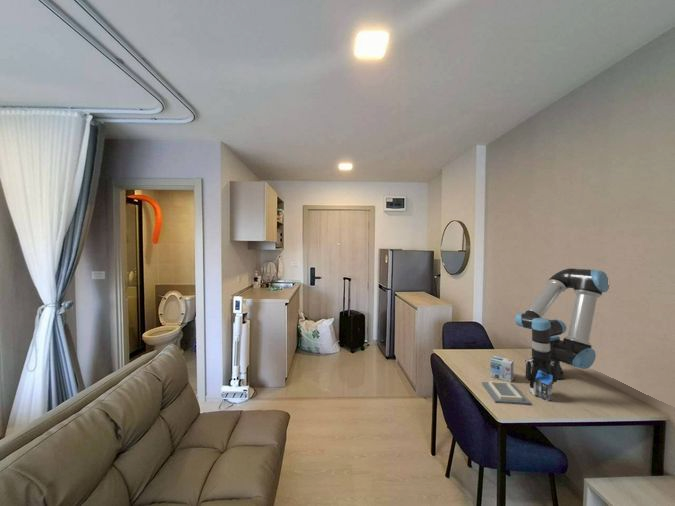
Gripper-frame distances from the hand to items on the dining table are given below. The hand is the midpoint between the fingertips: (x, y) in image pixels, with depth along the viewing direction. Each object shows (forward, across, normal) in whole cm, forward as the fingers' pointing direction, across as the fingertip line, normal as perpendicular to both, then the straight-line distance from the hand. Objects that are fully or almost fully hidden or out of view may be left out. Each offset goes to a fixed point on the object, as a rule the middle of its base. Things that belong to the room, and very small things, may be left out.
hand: (540, 394), depth 137 cm
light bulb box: (+1, +11, -18) cm, 21 cm away
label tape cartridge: (+1, 0, 0) cm, 1 cm away
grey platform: (+1, +17, 0) cm, 17 cm away
